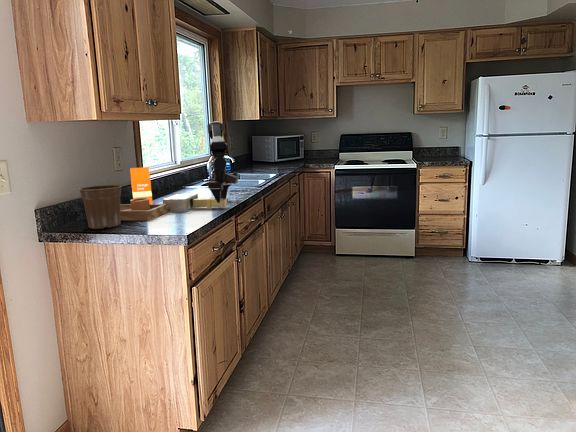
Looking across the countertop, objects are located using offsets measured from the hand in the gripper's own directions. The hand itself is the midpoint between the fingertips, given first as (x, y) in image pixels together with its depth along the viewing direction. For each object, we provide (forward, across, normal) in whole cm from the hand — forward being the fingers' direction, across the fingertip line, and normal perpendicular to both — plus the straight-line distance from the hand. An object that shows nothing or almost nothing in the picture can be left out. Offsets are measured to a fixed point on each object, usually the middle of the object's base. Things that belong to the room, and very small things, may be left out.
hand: (221, 201), depth 213 cm
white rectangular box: (+4, 0, +21) cm, 21 cm away
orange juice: (+4, +4, +43) cm, 43 cm away
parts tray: (+4, -18, +37) cm, 41 cm away
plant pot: (+4, -38, +38) cm, 54 cm away
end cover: (+3, 0, +6) cm, 7 cm away
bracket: (+4, -18, +37) cm, 41 cm away
